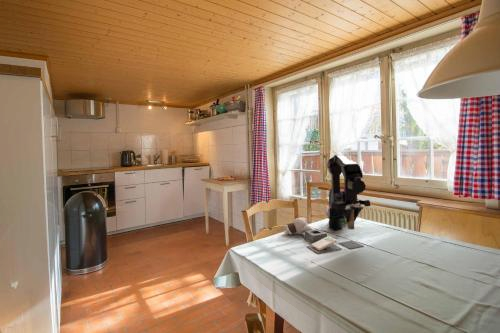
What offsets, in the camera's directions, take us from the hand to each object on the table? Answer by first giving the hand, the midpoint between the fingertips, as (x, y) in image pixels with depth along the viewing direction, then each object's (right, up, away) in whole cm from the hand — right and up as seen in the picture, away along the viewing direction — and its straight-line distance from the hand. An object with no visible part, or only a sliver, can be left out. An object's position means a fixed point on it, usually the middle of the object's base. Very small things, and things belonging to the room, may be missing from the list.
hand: (350, 221), depth 122 cm
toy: (-22, -11, +18) cm, 31 cm away
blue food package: (+8, -9, +38) cm, 39 cm away
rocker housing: (-13, -12, -2) cm, 18 cm away
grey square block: (-14, -11, +9) cm, 20 cm away
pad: (0, -11, +1) cm, 11 cm away
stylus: (0, -3, 0) cm, 3 cm away
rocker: (-14, -9, -2) cm, 17 cm away
